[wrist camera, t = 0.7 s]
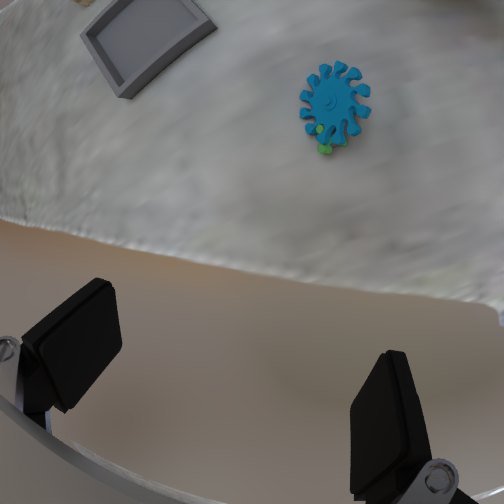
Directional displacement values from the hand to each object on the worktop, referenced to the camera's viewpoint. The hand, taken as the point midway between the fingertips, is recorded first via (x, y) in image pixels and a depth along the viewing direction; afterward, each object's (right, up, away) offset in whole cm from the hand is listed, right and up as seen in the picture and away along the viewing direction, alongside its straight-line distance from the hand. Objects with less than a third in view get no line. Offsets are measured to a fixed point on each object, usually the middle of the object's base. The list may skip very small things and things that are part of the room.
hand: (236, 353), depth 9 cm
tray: (-15, +36, +21) cm, 44 cm away
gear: (+10, +21, +22) cm, 32 cm away
